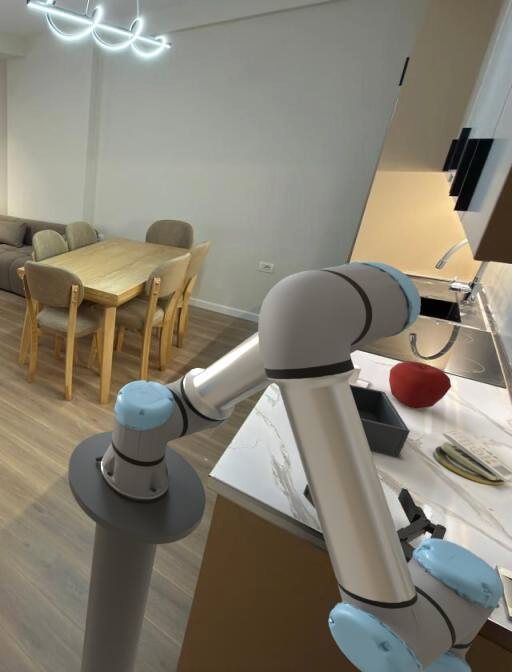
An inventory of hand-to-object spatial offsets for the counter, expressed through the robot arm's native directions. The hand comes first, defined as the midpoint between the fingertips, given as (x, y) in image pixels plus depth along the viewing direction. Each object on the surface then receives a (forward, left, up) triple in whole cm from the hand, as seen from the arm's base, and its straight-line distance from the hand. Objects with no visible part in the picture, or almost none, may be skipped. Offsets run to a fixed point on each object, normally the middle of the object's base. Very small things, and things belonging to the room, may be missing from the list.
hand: (358, 480), depth 81 cm
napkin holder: (+8, +56, -6) cm, 57 cm away
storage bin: (+5, +30, -6) cm, 31 cm away
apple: (+24, +50, -6) cm, 56 cm away
